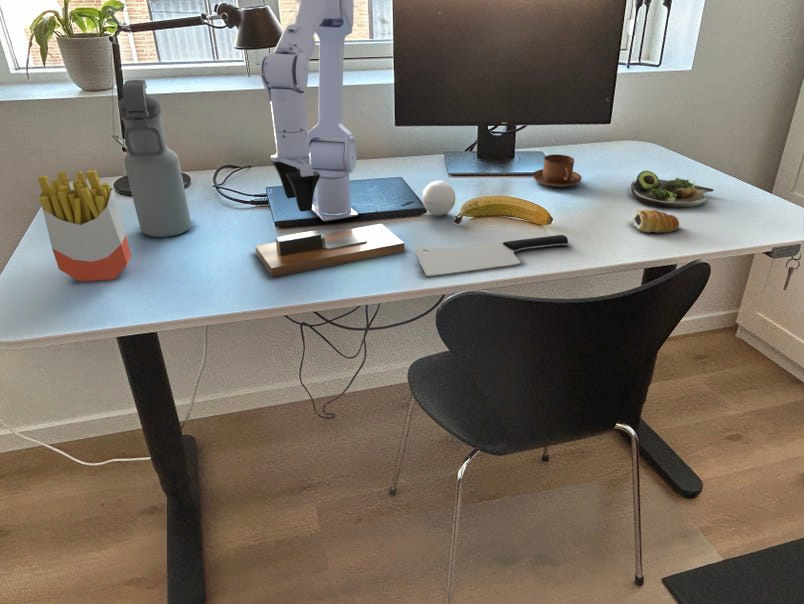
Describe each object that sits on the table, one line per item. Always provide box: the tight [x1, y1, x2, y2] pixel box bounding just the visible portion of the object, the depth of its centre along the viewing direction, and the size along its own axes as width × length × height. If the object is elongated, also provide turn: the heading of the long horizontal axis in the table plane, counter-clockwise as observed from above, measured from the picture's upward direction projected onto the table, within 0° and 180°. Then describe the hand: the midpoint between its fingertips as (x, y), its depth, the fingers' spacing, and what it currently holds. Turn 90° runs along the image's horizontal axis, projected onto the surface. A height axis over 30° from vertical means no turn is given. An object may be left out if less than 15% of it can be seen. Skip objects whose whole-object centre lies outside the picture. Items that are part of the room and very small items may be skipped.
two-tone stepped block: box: [275, 229, 367, 256], centre depth 124 cm, size 4×17×3 cm, turn 119°
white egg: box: [415, 180, 457, 216], centre depth 143 cm, size 10×7×7 cm
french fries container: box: [37, 169, 132, 282], centre depth 111 cm, size 5×11×18 cm, turn 102°
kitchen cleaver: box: [415, 234, 569, 277], centre depth 126 cm, size 31×2×10 cm
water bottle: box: [117, 79, 192, 238], centre depth 127 cm, size 10×10×28 cm
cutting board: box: [254, 223, 405, 278], centre depth 126 cm, size 11×26×2 cm, turn 119°
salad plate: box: [630, 170, 715, 208], centre depth 157 cm, size 19×18×5 cm
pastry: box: [632, 209, 680, 234], centre depth 140 cm, size 9×7×4 cm
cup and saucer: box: [532, 154, 583, 188], centre depth 163 cm, size 12×12×6 cm
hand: (298, 203), depth 122 cm, fingers open, 7 cm apart
